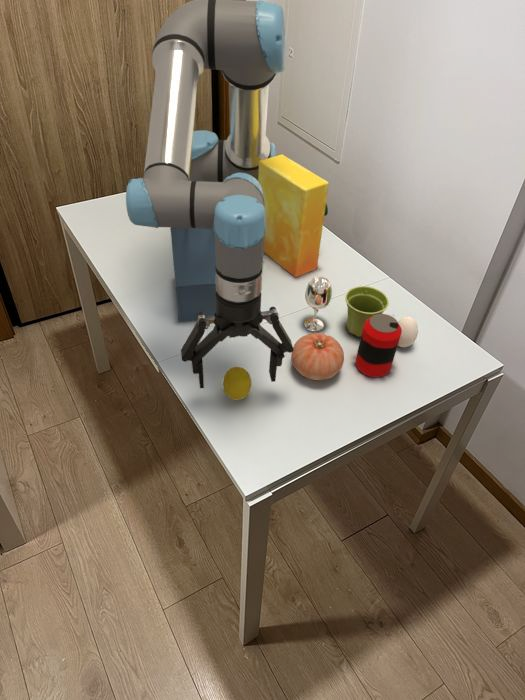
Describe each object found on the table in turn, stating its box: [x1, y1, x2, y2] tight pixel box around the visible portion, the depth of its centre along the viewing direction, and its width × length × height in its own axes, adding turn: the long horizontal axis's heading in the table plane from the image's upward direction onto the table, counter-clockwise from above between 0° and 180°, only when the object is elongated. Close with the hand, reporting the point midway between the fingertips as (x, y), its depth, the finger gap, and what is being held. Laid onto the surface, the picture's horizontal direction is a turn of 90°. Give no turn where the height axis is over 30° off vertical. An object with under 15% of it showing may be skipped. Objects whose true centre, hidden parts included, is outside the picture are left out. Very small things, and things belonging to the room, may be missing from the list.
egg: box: [397, 316, 419, 348], centre depth 116 cm, size 5×5×8 cm
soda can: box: [355, 313, 402, 378], centre depth 109 cm, size 8×8×12 cm
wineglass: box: [303, 275, 333, 332], centre depth 118 cm, size 6×6×12 cm
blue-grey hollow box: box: [175, 284, 216, 323], centre depth 124 cm, size 16×13×10 cm
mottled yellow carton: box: [258, 154, 330, 278], centre depth 134 cm, size 18×12×24 cm
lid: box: [170, 227, 216, 287], centre depth 108 cm, size 16×13×7 cm
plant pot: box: [344, 285, 390, 338], centre depth 119 cm, size 9×9×9 cm
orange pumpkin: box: [290, 332, 345, 381], centre depth 109 cm, size 11×11×8 cm
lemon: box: [222, 366, 252, 401], centre depth 103 cm, size 6×6×8 cm
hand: (237, 379), depth 102 cm, fingers open, 13 cm apart
